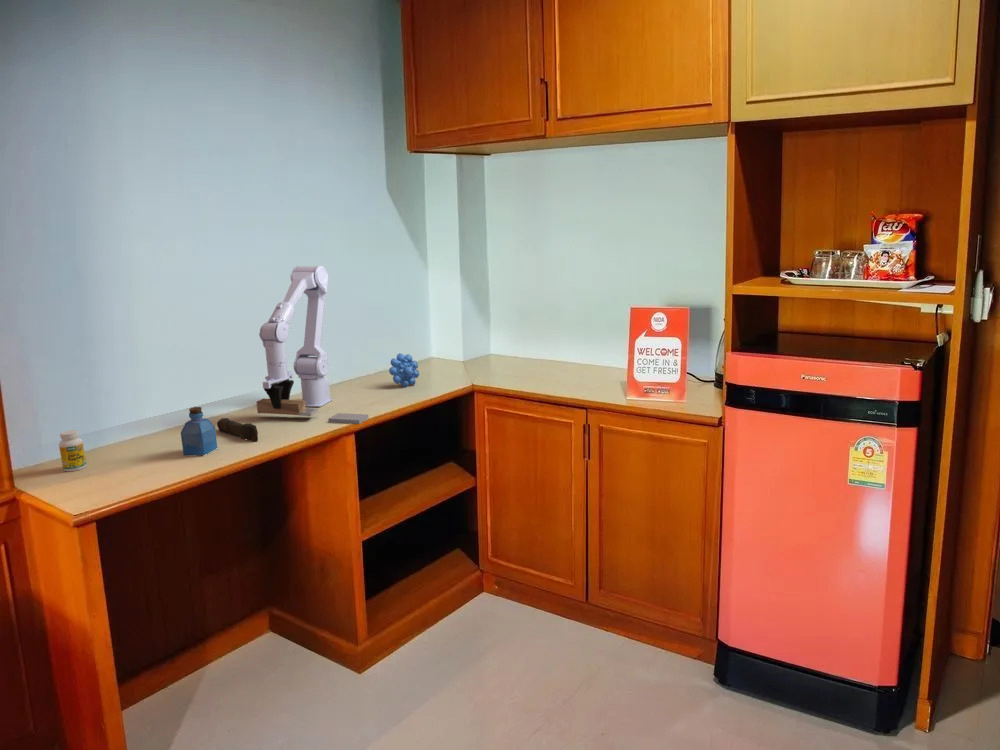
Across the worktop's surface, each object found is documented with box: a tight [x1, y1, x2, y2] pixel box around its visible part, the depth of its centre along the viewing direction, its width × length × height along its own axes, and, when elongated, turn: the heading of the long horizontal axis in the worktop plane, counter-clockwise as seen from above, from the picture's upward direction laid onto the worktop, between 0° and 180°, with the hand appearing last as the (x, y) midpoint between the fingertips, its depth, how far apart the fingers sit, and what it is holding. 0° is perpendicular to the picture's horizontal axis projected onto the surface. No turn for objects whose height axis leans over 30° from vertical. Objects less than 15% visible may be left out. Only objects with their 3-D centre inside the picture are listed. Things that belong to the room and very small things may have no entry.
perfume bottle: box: [180, 406, 218, 456], centre depth 217 cm, size 6×6×12 cm
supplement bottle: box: [58, 429, 87, 472], centre depth 208 cm, size 5×5×10 cm
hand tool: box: [216, 417, 259, 442], centre depth 232 cm, size 19×4×5 cm, turn 44°
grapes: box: [388, 353, 420, 388], centre depth 281 cm, size 12×7×12 cm, turn 128°
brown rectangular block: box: [256, 398, 319, 417], centre depth 248 cm, size 5×18×4 cm, turn 75°
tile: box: [328, 412, 369, 425], centre depth 244 cm, size 6×2×10 cm
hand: (281, 406), depth 249 cm, fingers closed on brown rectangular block, 4 cm apart
